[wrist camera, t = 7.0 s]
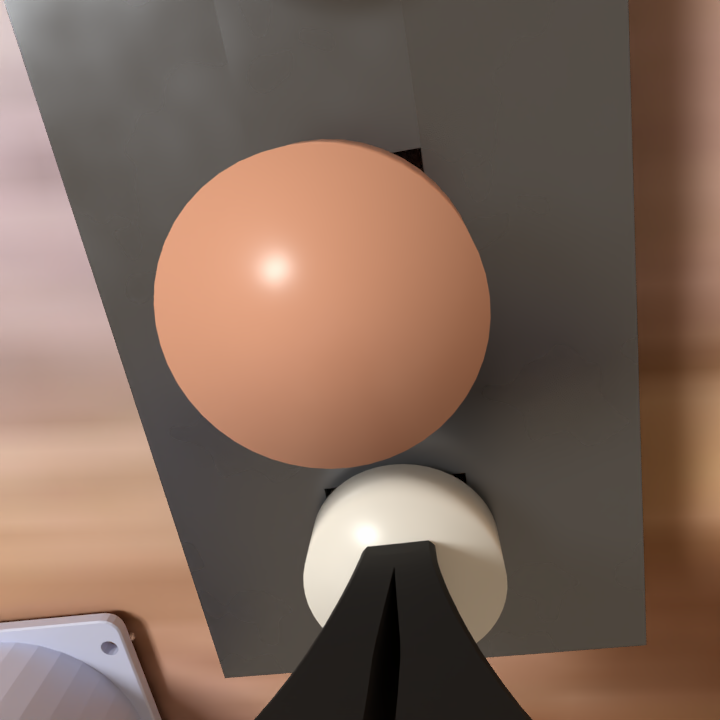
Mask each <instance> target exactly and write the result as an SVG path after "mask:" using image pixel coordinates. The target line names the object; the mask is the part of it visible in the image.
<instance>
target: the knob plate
mask: <svg viewBox="0 0 720 720" xmlns="http://www.w3.org/2000/svg"><path fill="white" fill-rule="evenodd" d="M4 3H5V6H6V9H7V12H8V15H9V18H10V21H11V24H12V28H13V31H14V34H15V37H16V40H17V43H18V46H19V49H20V52H21V55H22V58H23V61H24V64H25V67H26V70H27V73H28V76H29V80H30V83H31V86H32V89H33V92H34V95H35V98H36V101H37V104H38V107H39V110H40V113H41V116H42V119H43V122H44V125H45V128H46V132H47V135H48V138H49V141H50V144H51V147H52V150H53V153H54V156H55V159H56V162H57V165H58V168H59V171H60V174H61V177H62V180H63V183H64V187H65V190H66V193H67V196H68V199H69V202H70V205H71V208H72V211H73V214H74V217H75V220H76V223H77V226H78V229H79V232H80V235H81V239H82V242H83V245H84V248H85V251H86V254H87V257H88V260H89V263H90V266H91V269H92V272H93V275H94V278H95V281H96V284H97V287H98V291H99V294H100V297H101V300H102V303H103V306H104V309H105V312H106V315H107V318H108V321H109V324H110V327H111V330H112V333H113V336H114V339H115V343H116V346H117V349H118V352H119V355H120V358H121V361H122V364H123V367H124V370H125V373H126V376H127V379H128V382H129V385H130V388H131V391H132V395H133V398H134V401H135V404H136V407H137V410H138V413H139V416H140V419H141V422H142V425H143V428H144V431H145V434H146V437H147V440H148V443H149V446H150V450H151V453H152V456H153V459H154V462H155V465H156V468H157V471H158V474H159V477H160V480H161V483H162V486H163V489H164V492H165V495H166V498H167V502H168V505H169V508H170V511H171V514H172V517H173V520H174V523H175V526H176V529H177V532H178V535H179V538H180V541H181V544H182V547H183V550H184V554H185V557H186V560H187V563H188V566H189V569H190V572H191V575H192V578H193V581H194V584H195V587H196V590H197V593H198V596H199V599H200V602H201V606H202V609H203V612H204V615H205V618H206V621H207V624H208V627H209V630H210V633H211V636H212V639H213V642H214V645H215V648H216V651H217V654H218V658H219V661H220V664H221V667H222V670H223V673H224V676H225V678H231V677H244V676H256V675H269V674H282V673H293V672H294V670H295V669H296V667H297V666H298V665H299V663H300V662H301V660H302V659H303V658H304V656H305V655H306V653H307V652H308V650H309V648H310V647H311V645H312V644H313V642H314V641H315V639H316V638H317V636H318V635H319V633H320V632H321V630H322V627H321V625H320V624H319V623H318V621H317V620H316V618H315V617H314V615H313V613H312V611H311V609H310V607H309V605H308V602H307V599H306V596H305V591H304V581H303V574H304V568H305V562H306V558H307V553H308V549H309V545H310V540H311V536H312V532H313V527H314V523H315V520H316V517H317V514H318V512H319V510H320V508H321V506H322V505H323V503H324V502H325V500H326V499H327V497H328V496H329V495H330V494H331V493H332V492H333V491H334V490H335V489H336V488H337V487H338V486H340V485H341V484H342V483H343V482H345V481H346V480H348V479H350V478H351V477H353V476H354V475H357V474H359V473H361V472H364V471H366V470H369V469H372V468H376V467H380V466H386V465H394V464H412V465H420V466H426V467H430V468H434V469H437V470H441V471H443V472H445V473H448V474H458V473H465V481H466V484H467V485H468V486H469V487H471V488H472V489H473V490H474V491H475V492H476V493H477V494H478V495H479V496H480V497H481V498H482V500H483V501H484V502H485V504H486V505H487V506H488V508H489V510H490V512H491V514H492V515H493V518H494V521H495V523H496V527H497V531H498V536H499V541H500V546H501V550H502V555H503V560H504V565H505V569H506V574H507V595H506V601H505V604H504V607H503V610H502V612H501V614H500V616H499V618H498V620H497V622H496V623H495V625H494V626H493V627H492V629H491V630H490V631H489V632H488V633H487V634H486V635H485V636H484V637H483V638H482V639H481V640H480V641H478V642H477V643H476V644H477V645H478V647H479V649H480V650H481V652H482V653H483V655H484V656H485V658H487V657H499V656H512V655H525V654H538V653H551V652H563V651H576V650H589V649H602V648H614V647H627V646H640V645H646V614H645V578H644V543H643V508H642V472H641V437H640V401H639V366H638V330H637V295H636V260H635V224H634V189H633V153H632V118H631V82H630V47H629V11H628V0H4ZM317 139H343V140H349V141H355V142H361V143H366V144H369V145H372V146H375V147H379V148H382V149H384V150H387V151H389V152H391V153H393V152H399V151H404V150H410V149H415V148H420V154H421V161H422V168H423V172H424V173H425V174H426V175H427V176H428V177H429V178H431V179H432V180H433V181H434V182H435V183H436V184H437V185H438V186H439V187H440V188H441V190H442V191H443V192H444V193H445V194H446V195H447V196H448V197H449V199H450V200H451V202H452V203H453V205H454V206H455V208H456V209H457V211H458V212H459V214H460V216H461V218H462V220H463V222H464V224H465V226H466V228H467V230H468V232H469V234H470V236H471V238H472V240H473V242H474V244H475V246H476V248H477V250H478V252H479V255H480V258H481V261H482V264H483V267H484V270H485V273H486V278H487V284H488V289H489V295H490V314H491V319H490V330H489V339H488V344H487V348H486V352H485V356H484V360H483V363H482V365H481V368H480V370H479V373H478V375H477V378H476V380H475V382H474V384H473V385H472V387H471V389H470V391H469V393H468V394H467V396H466V398H465V399H464V400H463V402H462V403H461V404H460V406H459V407H458V408H457V410H456V411H455V412H454V414H453V415H452V416H451V417H450V418H449V419H448V420H447V421H446V422H445V423H444V424H443V425H442V426H441V427H440V428H439V429H437V430H436V431H435V432H434V433H432V434H431V435H430V436H428V437H427V438H426V439H425V440H423V441H422V442H420V443H418V444H417V445H415V446H413V447H412V448H410V449H408V450H406V451H404V452H402V453H400V454H397V455H395V456H393V457H391V458H388V459H385V460H382V461H378V462H375V463H372V464H368V465H362V466H357V467H351V468H336V469H323V468H308V467H302V466H297V465H291V464H287V463H284V462H280V461H277V460H273V459H270V458H268V457H265V456H263V455H260V454H258V453H256V452H253V451H251V450H249V449H247V448H246V447H244V446H242V445H240V444H238V443H237V442H235V441H233V440H232V439H231V438H229V437H228V436H226V435H225V434H224V433H222V432H221V431H219V430H218V429H217V428H216V427H215V426H213V425H212V424H211V423H210V422H209V421H208V420H207V419H206V418H205V417H203V416H202V414H201V413H200V412H199V411H198V410H197V409H196V408H195V406H194V405H193V404H192V403H191V402H190V401H189V400H188V398H187V397H186V395H185V394H184V392H183V391H182V389H181V388H180V386H179V385H178V383H177V382H176V380H175V378H174V376H173V374H172V372H171V370H170V368H169V366H168V364H167V362H166V359H165V356H164V353H163V351H162V348H161V345H160V341H159V337H158V333H157V328H156V322H155V312H154V283H155V277H156V271H157V266H158V261H159V258H160V255H161V252H162V249H163V245H164V242H165V240H166V238H167V236H168V234H169V232H170V230H171V228H172V226H173V224H174V222H175V220H176V219H177V217H178V216H179V214H180V213H181V212H182V210H183V209H184V207H185V206H186V204H187V203H188V202H189V201H190V200H191V199H192V198H193V197H194V195H195V194H196V193H197V192H198V191H199V190H200V189H201V188H202V187H203V186H204V185H206V184H207V183H208V182H209V181H210V180H212V179H213V178H214V177H215V176H217V175H218V174H219V173H221V172H222V171H224V170H226V169H227V168H229V167H231V166H232V165H234V164H236V163H237V162H239V161H241V160H244V159H246V158H249V157H251V156H253V155H256V154H258V153H261V152H264V151H268V150H271V149H275V148H278V147H282V146H286V145H290V144H293V143H297V142H301V141H309V140H317Z"/></svg>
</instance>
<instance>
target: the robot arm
mask: <svg viewBox="0 0 720 720" xmlns="http://www.w3.org/2000/svg"><path fill="white" fill-rule="evenodd" d="M110 642H113V643H114V644H112V643H110ZM115 644H116V645H115ZM0 720H162V719H161V717H160V714H159V712H158V709H157V706H156V704H155V701H154V699H153V696H152V693H151V691H150V688H149V686H148V683H147V680H146V678H145V675H144V672H143V670H142V667H141V665H140V662H139V659H138V657H137V654H136V652H135V649H134V646H133V644H132V641H131V639H130V636H129V633H128V631H127V628H126V626H125V624H124V622H123V621H122V619H120V618H119V617H118V616H116V615H114V614H110V613H100V614H89V615H79V616H68V617H57V618H47V619H36V620H26V621H15V622H4V623H0ZM254 720H532V719H531V718H530V717H529V716H528V714H527V713H526V712H525V711H524V710H523V709H522V707H521V706H520V705H519V704H518V702H517V701H516V700H515V698H514V697H513V696H512V695H511V693H510V692H509V691H508V689H507V688H506V687H505V685H504V684H503V683H502V681H501V680H500V678H499V677H498V676H497V674H496V673H495V671H494V670H493V668H492V667H491V666H490V664H489V663H488V661H487V660H486V658H485V656H484V655H483V653H482V652H481V650H480V649H479V647H478V645H477V644H476V642H475V640H474V639H473V637H472V635H471V634H470V632H469V630H468V628H467V627H466V625H465V623H464V621H463V619H462V617H461V616H460V614H459V612H458V610H457V607H456V605H455V603H454V601H453V599H452V597H451V595H450V593H449V591H448V589H447V586H446V584H445V581H444V579H443V576H442V573H441V571H440V568H439V565H438V561H437V554H436V548H435V545H434V544H433V543H432V542H430V541H429V540H426V541H416V542H407V543H397V544H388V545H378V546H368V547H366V548H365V550H364V551H363V552H362V554H361V557H360V559H359V561H358V563H357V566H356V568H355V570H354V572H353V574H352V576H351V578H350V580H349V582H348V584H347V586H346V588H345V590H344V592H343V594H342V595H341V597H340V599H339V601H338V603H337V604H336V606H335V608H334V610H333V611H332V613H331V615H330V617H329V618H328V620H327V622H326V624H325V625H324V627H323V628H322V630H321V632H320V633H319V635H318V636H317V638H316V639H315V641H314V642H313V644H312V645H311V647H310V648H309V650H308V652H307V653H306V655H305V656H304V658H303V659H302V660H301V662H300V663H299V665H298V666H297V667H296V669H295V670H294V672H293V673H292V674H291V676H290V677H289V678H288V680H287V681H286V682H285V683H284V685H283V686H282V687H281V689H280V690H279V691H278V692H277V694H276V695H275V696H274V697H273V699H272V700H271V701H270V702H269V703H268V704H267V706H266V707H265V708H264V709H263V710H262V711H261V713H260V714H259V715H258V716H257V717H256V718H255V719H254Z"/></svg>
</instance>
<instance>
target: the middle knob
mask: <svg viewBox="0 0 720 720" xmlns="http://www.w3.org/2000/svg"><path fill="white" fill-rule="evenodd" d="M154 312H155V322H156V328H157V333H158V337H159V341H160V345H161V348H162V351H163V353H164V356H165V359H166V362H167V364H168V366H169V368H170V370H171V372H172V374H173V376H174V378H175V380H176V382H177V383H178V385H179V386H180V388H181V389H182V391H183V392H184V394H185V395H186V397H187V398H188V400H189V401H190V402H191V403H192V404H193V405H194V406H195V408H196V409H197V410H198V411H199V412H200V413H201V414H202V416H203V417H205V418H206V419H207V420H208V421H209V422H210V423H211V424H212V425H213V426H215V427H216V428H217V429H218V430H219V431H221V432H222V433H224V434H225V435H226V436H228V437H229V438H231V439H232V440H233V441H235V442H237V443H238V444H240V445H242V446H244V447H246V448H247V449H249V450H251V451H253V452H256V453H258V454H260V455H263V456H265V457H268V458H270V459H273V460H277V461H280V462H284V463H287V464H291V465H297V466H302V467H308V468H323V469H336V468H351V467H357V466H362V465H368V464H372V463H375V462H378V461H382V460H385V459H388V458H391V457H393V456H395V455H397V454H400V453H402V452H404V451H406V450H408V449H410V448H412V447H413V446H415V445H417V444H418V443H420V442H422V441H423V440H425V439H426V438H427V437H428V436H430V435H431V434H432V433H434V432H435V431H436V430H437V429H439V428H440V427H441V426H442V425H443V424H444V423H445V422H446V421H447V420H448V419H449V418H450V417H451V416H452V415H453V414H454V412H455V411H456V410H457V408H458V407H459V406H460V404H461V403H462V402H463V400H464V399H465V398H466V396H467V394H468V393H469V391H470V389H471V387H472V385H473V384H474V382H475V380H476V378H477V375H478V373H479V370H480V368H481V365H482V363H483V360H484V356H485V352H486V348H487V344H488V339H489V330H490V319H491V314H490V295H489V289H488V284H487V278H486V273H485V270H484V267H483V264H482V261H481V258H480V255H479V252H478V250H477V248H476V246H475V244H474V242H473V240H472V238H471V236H470V234H469V232H468V230H467V228H466V226H465V224H464V222H463V220H462V218H461V216H460V214H459V212H458V211H457V209H456V208H455V206H454V205H453V203H452V202H451V200H450V199H449V197H448V196H447V195H446V194H445V193H444V192H443V191H442V190H441V188H440V187H439V186H438V185H437V184H436V183H435V182H434V181H433V180H432V179H431V178H429V177H428V176H427V175H426V174H425V173H424V172H422V171H421V170H420V169H419V168H417V167H416V166H414V165H413V164H411V163H409V162H408V161H406V160H405V159H403V158H402V157H399V156H397V155H395V154H393V153H391V152H389V151H387V150H384V149H382V148H379V147H375V146H372V145H369V144H366V143H361V142H355V141H349V140H343V139H317V140H309V141H301V142H297V143H293V144H290V145H286V146H282V147H278V148H275V149H271V150H268V151H264V152H261V153H258V154H256V155H253V156H251V157H249V158H246V159H244V160H241V161H239V162H237V163H236V164H234V165H232V166H231V167H229V168H227V169H226V170H224V171H222V172H221V173H219V174H218V175H217V176H215V177H214V178H213V179H212V180H210V181H209V182H208V183H207V184H206V185H204V186H203V187H202V188H201V189H200V190H199V191H198V192H197V193H196V194H195V195H194V197H193V198H192V199H191V200H190V201H189V202H188V203H187V204H186V206H185V207H184V209H183V210H182V212H181V213H180V214H179V216H178V217H177V219H176V220H175V222H174V224H173V226H172V228H171V230H170V232H169V234H168V236H167V238H166V240H165V242H164V245H163V249H162V252H161V255H160V258H159V261H158V266H157V271H156V277H155V283H154Z"/></svg>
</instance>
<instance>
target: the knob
mask: <svg viewBox="0 0 720 720" xmlns="http://www.w3.org/2000/svg"><path fill="white" fill-rule="evenodd" d="M426 540H429V541H430V542H432V543H433V544H434V545H435V548H436V554H437V561H438V565H439V568H440V571H441V573H442V576H443V579H444V581H445V584H446V586H447V589H448V591H449V593H450V595H451V597H452V599H453V601H454V603H455V605H456V607H457V610H458V612H459V614H460V616H461V617H462V619H463V621H464V623H465V625H466V627H467V628H468V630H469V632H470V634H471V635H472V637H473V639H474V640H475V642H476V643H477V642H478V641H480V640H481V639H482V638H483V637H484V636H485V635H486V634H487V633H488V632H489V631H490V630H491V629H492V627H493V626H494V625H495V623H496V622H497V620H498V618H499V616H500V614H501V612H502V610H503V607H504V604H505V601H506V595H507V574H506V569H505V565H504V560H503V555H502V550H501V546H500V541H499V536H498V531H497V527H496V523H495V521H494V518H493V515H492V514H491V512H490V510H489V508H488V506H487V505H486V504H485V502H484V501H483V500H482V498H481V497H480V496H479V495H478V494H477V493H476V492H475V491H474V490H473V489H472V488H471V487H469V486H468V485H467V484H465V483H464V482H463V481H461V480H459V479H457V478H456V477H454V476H452V475H450V474H448V473H445V472H443V471H441V470H437V469H434V468H430V467H426V466H420V465H412V464H394V465H386V466H380V467H376V468H372V469H369V470H366V471H364V472H361V473H359V474H357V475H354V476H353V477H351V478H350V479H348V480H346V481H345V482H343V483H342V484H341V485H340V486H338V487H337V488H336V489H335V490H334V491H333V492H332V493H331V494H330V495H329V496H328V497H327V499H326V500H325V502H324V503H323V505H322V506H321V508H320V510H319V512H318V514H317V517H316V520H315V523H314V527H313V532H312V536H311V540H310V545H309V549H308V553H307V558H306V562H305V568H304V574H303V581H304V591H305V596H306V599H307V602H308V605H309V607H310V609H311V611H312V613H313V615H314V617H315V618H316V620H317V621H318V623H319V624H320V625H321V627H322V628H323V627H324V625H325V624H326V622H327V620H328V618H329V617H330V615H331V613H332V611H333V610H334V608H335V606H336V604H337V603H338V601H339V599H340V597H341V595H342V594H343V592H344V590H345V588H346V586H347V584H348V582H349V580H350V578H351V576H352V574H353V572H354V570H355V568H356V566H357V563H358V561H359V559H360V557H361V554H362V552H363V551H364V550H365V548H366V547H368V546H378V545H388V544H397V543H407V542H416V541H426Z"/></svg>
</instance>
